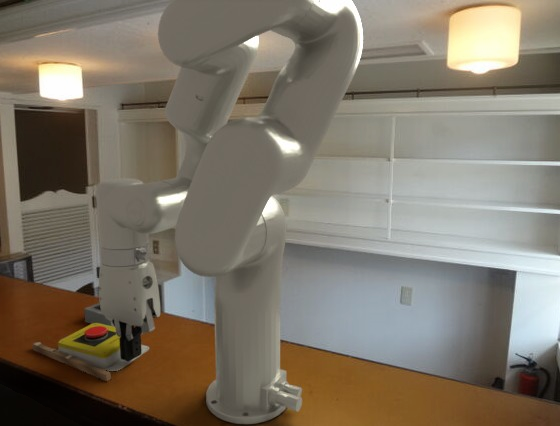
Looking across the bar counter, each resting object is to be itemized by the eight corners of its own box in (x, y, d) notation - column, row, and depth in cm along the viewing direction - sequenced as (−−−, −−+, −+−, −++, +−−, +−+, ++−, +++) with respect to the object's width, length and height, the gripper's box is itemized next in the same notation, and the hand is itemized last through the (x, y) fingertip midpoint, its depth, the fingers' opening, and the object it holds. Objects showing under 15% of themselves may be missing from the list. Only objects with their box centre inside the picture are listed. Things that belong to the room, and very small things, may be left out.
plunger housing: (142, 316, 95) (141, 303, 94) (111, 331, 88) (110, 316, 88) (116, 308, 99) (115, 296, 98) (85, 322, 92) (84, 308, 92)
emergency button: (89, 314, 87) (150, 328, 81) (90, 335, 88) (151, 350, 82) (48, 334, 78) (113, 351, 73) (50, 357, 79) (115, 375, 73)
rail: (111, 379, 72) (110, 371, 71) (106, 381, 71) (106, 373, 70) (37, 348, 81) (36, 341, 81) (32, 350, 81) (32, 343, 80)
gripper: (175, 256, 72) (179, 359, 76) (113, 242, 79) (119, 337, 83) (140, 268, 65) (145, 380, 69) (75, 252, 73) (83, 354, 76)
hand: (131, 356), depth 76 cm, fingers closed
